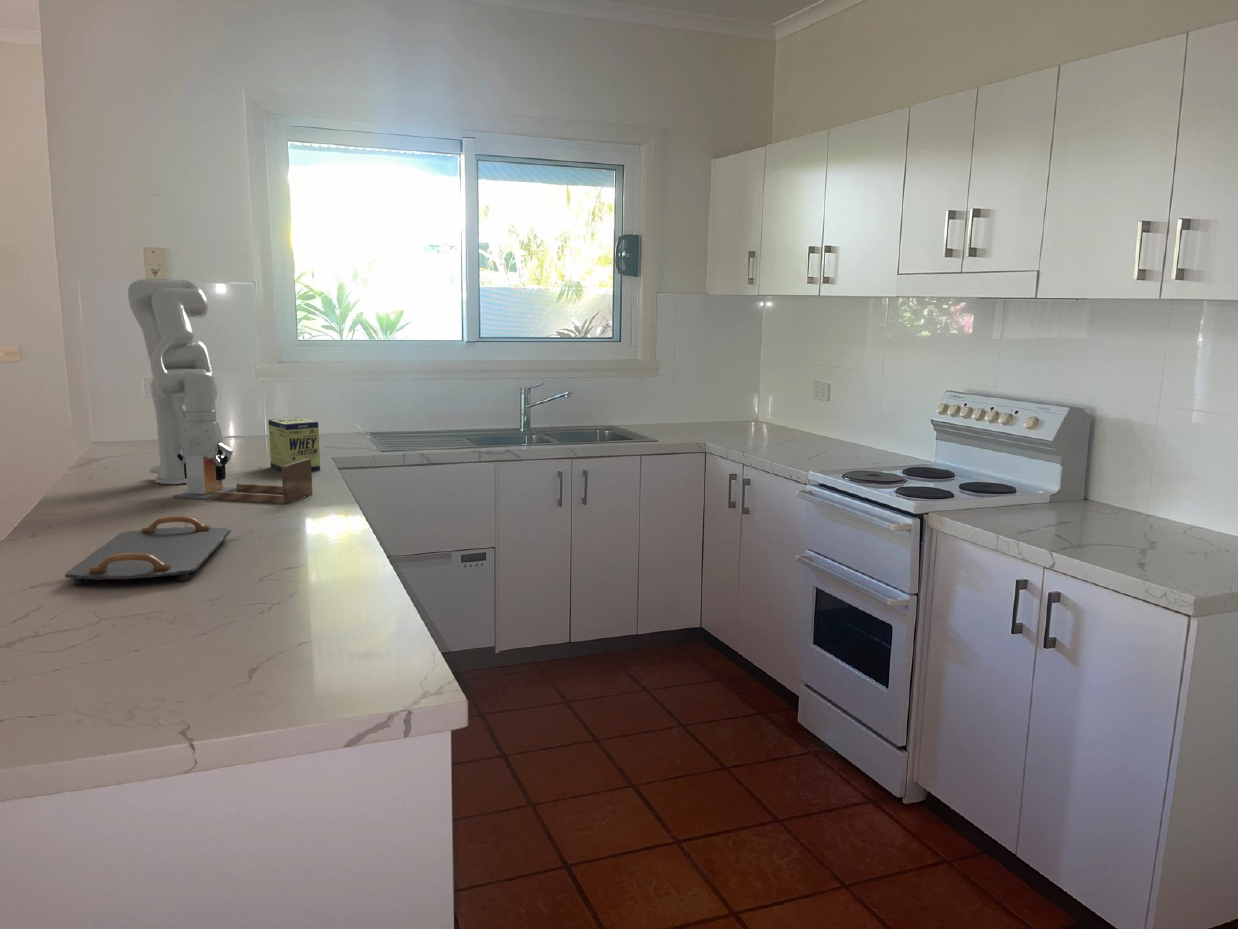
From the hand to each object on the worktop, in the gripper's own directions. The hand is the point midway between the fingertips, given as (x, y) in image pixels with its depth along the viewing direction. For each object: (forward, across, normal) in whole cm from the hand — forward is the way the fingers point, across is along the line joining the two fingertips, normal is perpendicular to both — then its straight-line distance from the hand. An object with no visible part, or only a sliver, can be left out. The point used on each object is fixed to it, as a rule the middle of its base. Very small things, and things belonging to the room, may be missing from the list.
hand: (205, 478), depth 251 cm
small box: (+4, 0, 0) cm, 4 cm away
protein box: (+4, +2, +41) cm, 42 cm away
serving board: (+5, +33, -61) cm, 70 cm away
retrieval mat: (+4, 0, 0) cm, 4 cm away
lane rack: (+4, +17, 0) cm, 18 cm away
